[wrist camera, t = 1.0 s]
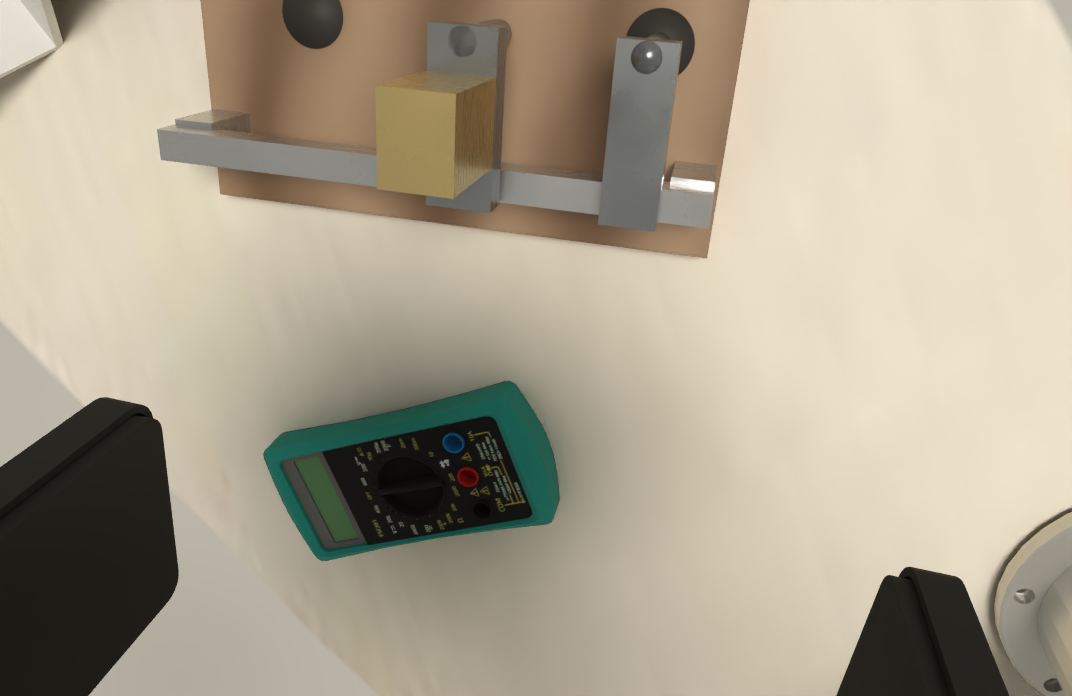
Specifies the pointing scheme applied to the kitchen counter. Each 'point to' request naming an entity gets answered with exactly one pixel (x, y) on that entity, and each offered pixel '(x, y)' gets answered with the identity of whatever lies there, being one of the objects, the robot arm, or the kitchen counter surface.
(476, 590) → the kitchen counter surface
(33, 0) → the z bracket
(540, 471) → the digital multimeter
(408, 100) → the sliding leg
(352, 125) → the bolt plate
